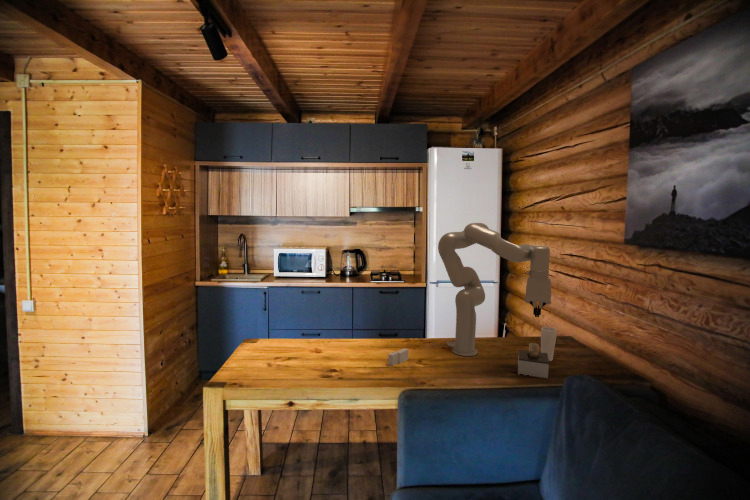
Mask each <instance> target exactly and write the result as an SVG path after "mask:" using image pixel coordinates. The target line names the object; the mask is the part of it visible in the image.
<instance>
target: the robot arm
mask: <svg viewBox="0 0 750 500" xmlns="http://www.w3.org/2000/svg"><path fill="white" fill-rule="evenodd" d="M475 244H477V245H480V246H482V247H484V248H487V249H489V250H490V251H491V252H492V253H494V254H495V255H497V256H499V257H501V258H503V259H505V260H507V261H510V262H513V263H523V262H530V266H529V267H530V269H529V271H526V273H525V274H526V275H528V277H527V279H526V280H527V281H526V285H525V298H524V302H525V303H527V304H530V305H531V306H532V308H533V309H532V310H533V311H532V313H533V314H532V315H534V317H535V318H540V316H542V308H543V307H545V306H547V305H548V306H549V305H551V304H552V301H551V300H552V281H551V278H550V277H549V276H550V275H549V273H550V257H551V256H550V255H551V249H550V247H549V246H545V245H532V244H527V243H525V244H524V243H522V244H515V243H513V242H510V241H508V240H506V239H504V238H502V237H501V233H499V232H498V231H495V230H492V229H491V228H489V227H488V225H487V224H485V223H482V222H472V223H469V224H467V225H466V226H465V227H464V229H463V230H462V231H451V232H447V233H444V234H443V235H442V236H441V238H440V239H439V241H438V244H437V245H438V246H437V250H438V254H439V256H440V258H441V259H440V260H441V261H442V263H443V266H444V268H445V270H446V272H447V275H448V278H449V280H450V282H451V284H452V286H454V288H462V287H463V289H460V290H459V291H458V292H457V293H456V295H455V301H454V303H455V309H456V310H455V311H456V314H455V316H456V317H455V320H456V321H455V336H454V338H455V340H454V341H448V340H446V343H445V345H446V346H447V347H449V348H450V347H451V352H452V353H453V354H455V355H457V356H463V357H474V356H476V355H478V349H477V348H475V347H476V345H475V344H476V330H477V329H476V328H477V313H476V307H478V306H480V305H482V304H483V303H484V302H485V300H486V293H485V289H484V288H483V285H482V283H481V280H480V277H479V275H478V273H477V272H476V270H475V269H474V268H473V267H470V266H464V264H463V261H462V259H461V257H460V256H459V254H458V253H457V252H456V250H458V249H459V250H461V249H465V248H468V247H470V246H472V245H473V246H474V245H475ZM536 302H539V304H538V306H537V303H536Z"/></svg>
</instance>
